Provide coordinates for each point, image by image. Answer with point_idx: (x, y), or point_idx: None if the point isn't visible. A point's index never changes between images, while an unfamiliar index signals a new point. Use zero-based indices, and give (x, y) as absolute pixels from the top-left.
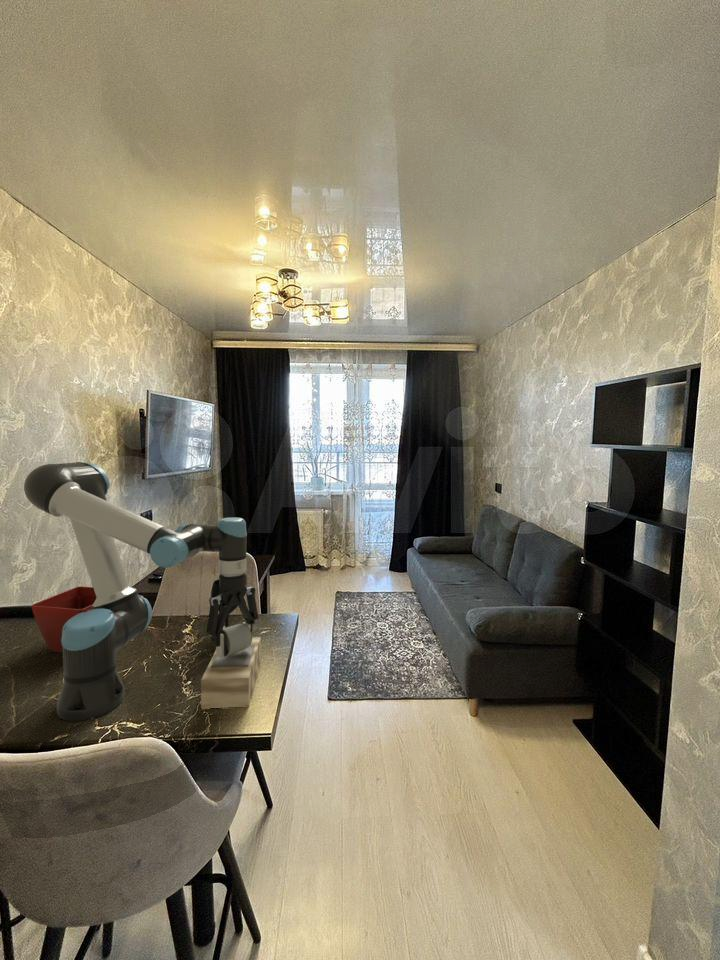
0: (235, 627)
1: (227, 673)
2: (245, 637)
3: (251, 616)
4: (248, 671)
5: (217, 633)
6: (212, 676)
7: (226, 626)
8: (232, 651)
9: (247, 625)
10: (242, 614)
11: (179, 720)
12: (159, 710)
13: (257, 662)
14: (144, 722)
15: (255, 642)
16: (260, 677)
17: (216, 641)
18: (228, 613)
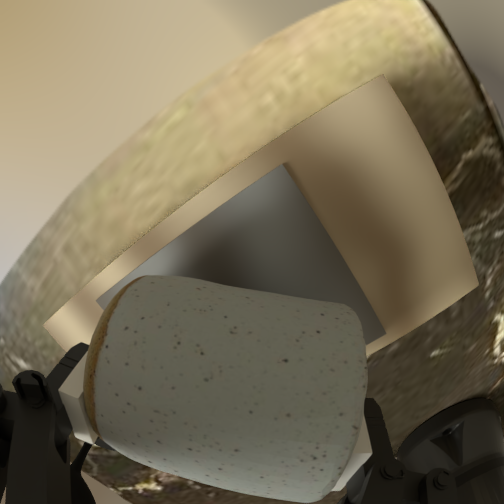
0: (209, 461)
1: (401, 217)
2: (185, 318)
3: (12, 434)
4: (330, 119)
5: (406, 475)
6: (447, 263)
7: (88, 446)
8: (326, 302)
9: (82, 402)
10: (70, 500)
11: (477, 253)
12: (454, 332)
13: (135, 242)
14: (494, 318)
15: (79, 316)
16: (164, 199)
17: (385, 428)
18: (70, 470)
